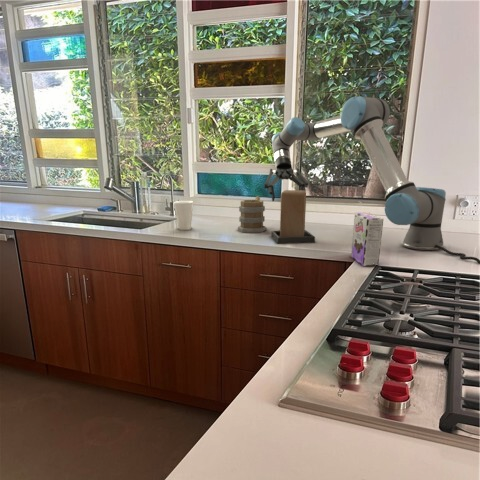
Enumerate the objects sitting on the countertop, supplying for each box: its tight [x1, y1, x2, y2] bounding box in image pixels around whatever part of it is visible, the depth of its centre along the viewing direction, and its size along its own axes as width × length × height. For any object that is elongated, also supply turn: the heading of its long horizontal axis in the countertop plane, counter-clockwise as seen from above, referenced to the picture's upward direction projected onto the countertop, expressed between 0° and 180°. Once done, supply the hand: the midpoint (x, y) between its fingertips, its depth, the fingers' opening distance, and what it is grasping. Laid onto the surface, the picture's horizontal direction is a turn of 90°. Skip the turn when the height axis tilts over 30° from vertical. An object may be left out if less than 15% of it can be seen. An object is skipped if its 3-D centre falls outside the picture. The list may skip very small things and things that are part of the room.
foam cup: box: [173, 200, 194, 231], centre depth 228 cm, size 10×9×13 cm
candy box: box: [350, 211, 384, 267], centre depth 162 cm, size 14×6×16 cm, turn 4°
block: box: [279, 189, 307, 237], centre depth 199 cm, size 10×10×20 cm
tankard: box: [237, 195, 267, 234], centre depth 225 cm, size 20×13×15 cm, turn 161°
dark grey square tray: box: [270, 229, 316, 245], centre depth 203 cm, size 16×16×2 cm
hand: (288, 199), depth 207 cm, fingers open, 13 cm apart
